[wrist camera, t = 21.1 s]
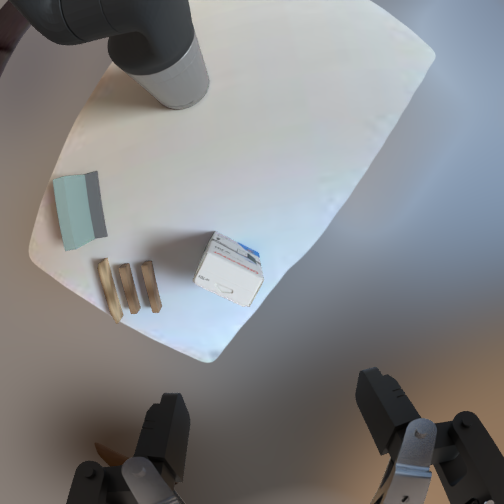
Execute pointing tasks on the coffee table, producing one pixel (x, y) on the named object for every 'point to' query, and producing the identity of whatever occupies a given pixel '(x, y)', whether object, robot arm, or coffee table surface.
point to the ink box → (230, 270)
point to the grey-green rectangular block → (73, 211)
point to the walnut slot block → (131, 291)
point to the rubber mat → (95, 204)
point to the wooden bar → (110, 290)
